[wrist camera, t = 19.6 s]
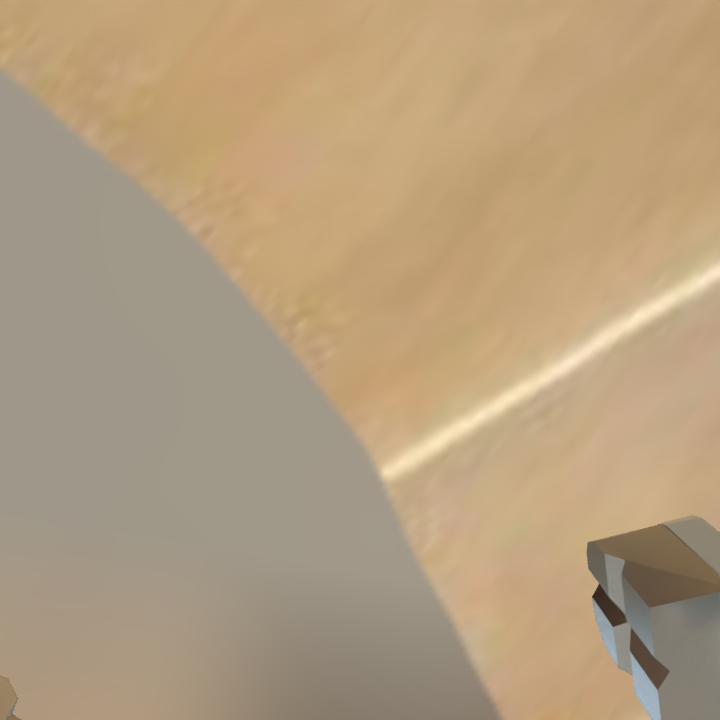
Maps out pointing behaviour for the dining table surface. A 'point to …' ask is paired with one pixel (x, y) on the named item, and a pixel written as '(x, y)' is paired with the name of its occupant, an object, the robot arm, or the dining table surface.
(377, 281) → the dining table surface
